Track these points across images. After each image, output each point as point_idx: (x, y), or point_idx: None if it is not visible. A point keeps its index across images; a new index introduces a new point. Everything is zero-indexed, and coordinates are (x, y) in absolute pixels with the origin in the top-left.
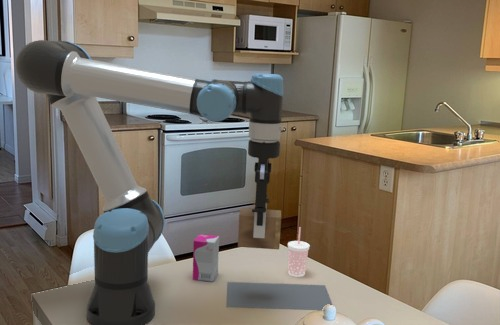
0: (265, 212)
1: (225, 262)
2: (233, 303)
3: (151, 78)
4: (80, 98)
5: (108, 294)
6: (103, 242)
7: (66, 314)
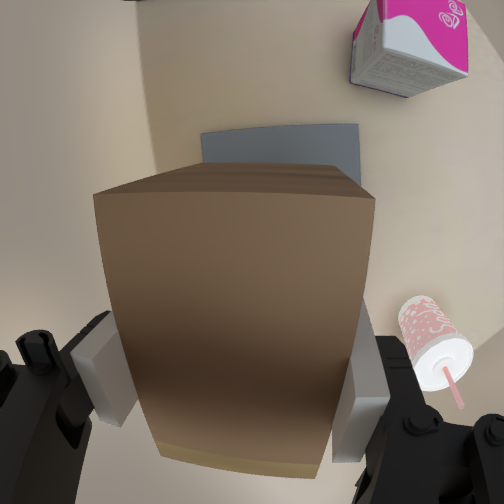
0: (101, 416)
1: (488, 127)
2: (222, 149)
3: None
4: None
5: None
6: None
7: None
